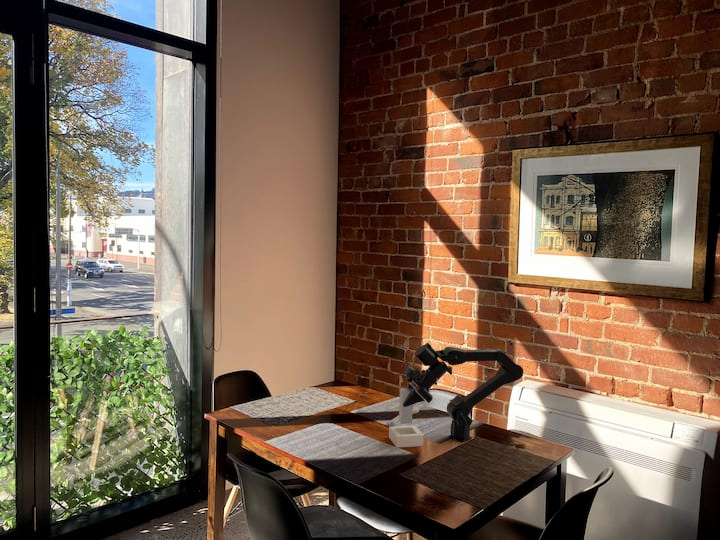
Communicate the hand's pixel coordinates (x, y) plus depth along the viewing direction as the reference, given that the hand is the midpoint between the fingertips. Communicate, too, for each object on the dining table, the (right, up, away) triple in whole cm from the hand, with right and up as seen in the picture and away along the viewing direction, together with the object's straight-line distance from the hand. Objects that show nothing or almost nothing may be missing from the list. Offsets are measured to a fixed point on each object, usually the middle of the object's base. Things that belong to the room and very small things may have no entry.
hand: (402, 404), depth 214 cm
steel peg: (+1, -7, +1) cm, 7 cm away
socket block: (+1, -14, 0) cm, 14 cm away
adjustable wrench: (+1, -12, +27) cm, 30 cm away
